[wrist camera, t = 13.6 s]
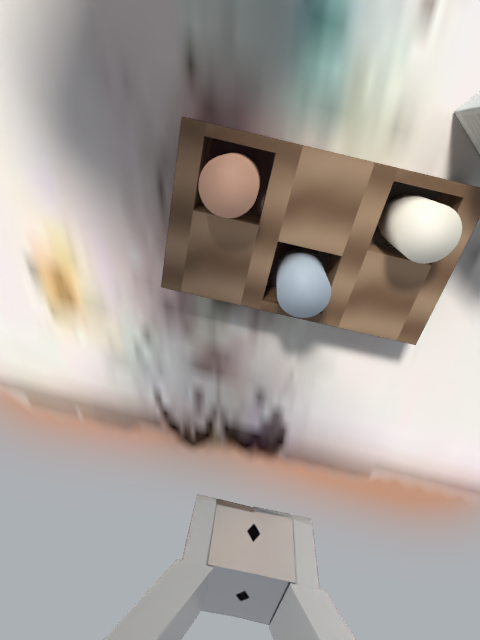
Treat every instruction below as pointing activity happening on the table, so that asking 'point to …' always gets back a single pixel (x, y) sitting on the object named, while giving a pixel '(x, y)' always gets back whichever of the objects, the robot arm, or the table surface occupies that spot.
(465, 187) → the tray
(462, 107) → the supplement box
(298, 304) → the key slate
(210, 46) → the table surface
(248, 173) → the tan rounded short cylinder
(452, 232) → the cream egg-shaped piece
